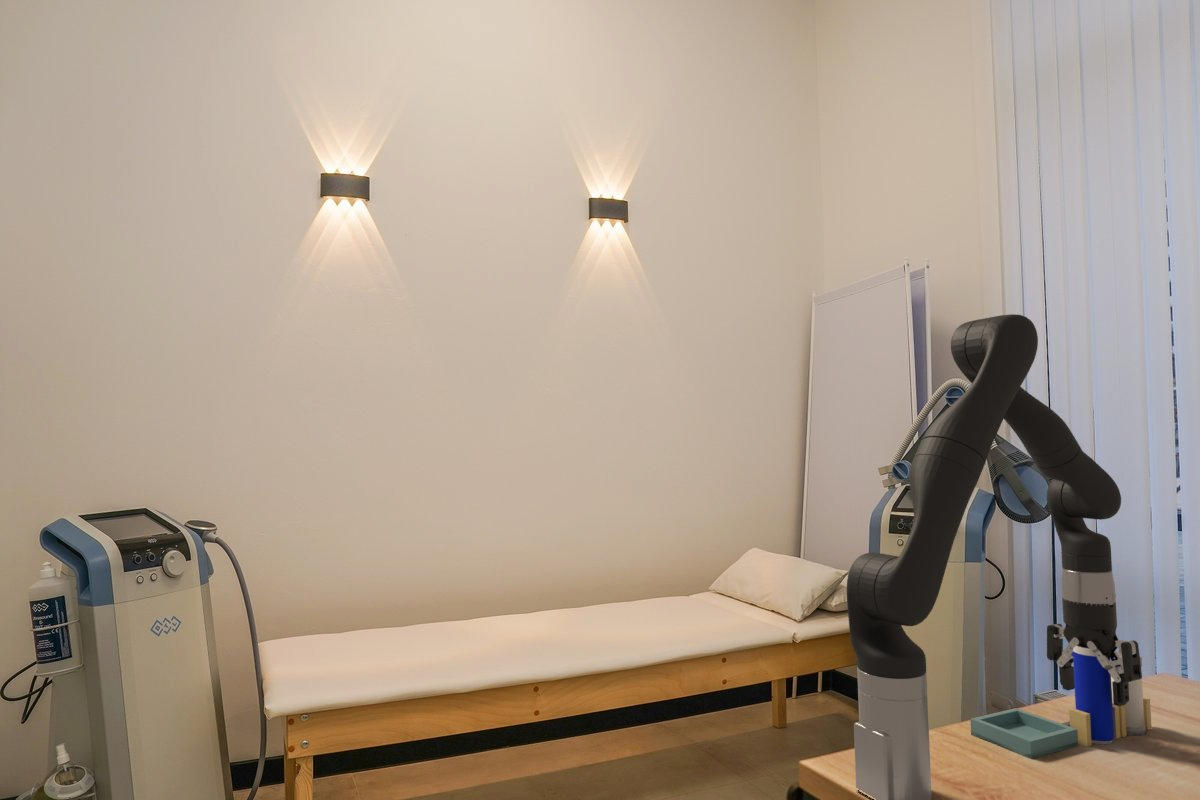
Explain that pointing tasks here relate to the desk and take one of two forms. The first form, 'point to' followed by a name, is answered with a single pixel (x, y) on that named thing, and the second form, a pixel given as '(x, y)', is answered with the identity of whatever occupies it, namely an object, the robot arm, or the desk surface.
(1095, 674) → the beverage can
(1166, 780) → the desk surface
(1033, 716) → the tray
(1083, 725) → the fuse block
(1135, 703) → the fuse
